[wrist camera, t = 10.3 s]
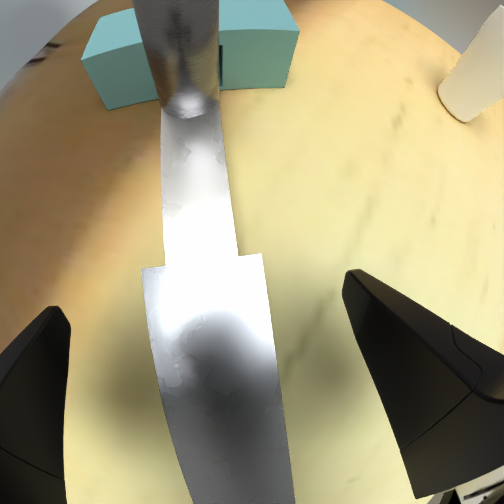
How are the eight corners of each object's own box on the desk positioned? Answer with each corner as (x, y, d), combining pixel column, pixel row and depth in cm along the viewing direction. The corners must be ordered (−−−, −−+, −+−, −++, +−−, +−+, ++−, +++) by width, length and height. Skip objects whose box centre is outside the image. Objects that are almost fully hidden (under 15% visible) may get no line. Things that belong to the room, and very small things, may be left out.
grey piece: (251, 357, 14) (315, 505, 3) (190, 364, 14) (100, 510, 2) (213, 59, 18) (213, -71, 6) (171, 64, 18) (150, -63, 6)
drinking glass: (462, 137, 20) (551, 63, 5) (421, 86, 21) (493, -2, 6) (479, 121, 21) (551, 60, 7) (443, 78, 22) (505, 7, 7)
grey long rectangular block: (280, 470, 14) (296, 514, 9) (207, 479, 14) (202, 524, 9) (251, 267, 16) (261, 253, 11) (167, 278, 16) (141, 268, 11)
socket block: (284, 87, 19) (299, 31, 13) (107, 110, 17) (80, 60, 11) (270, 45, 20) (280, -6, 14) (117, 64, 18) (100, 17, 12)
